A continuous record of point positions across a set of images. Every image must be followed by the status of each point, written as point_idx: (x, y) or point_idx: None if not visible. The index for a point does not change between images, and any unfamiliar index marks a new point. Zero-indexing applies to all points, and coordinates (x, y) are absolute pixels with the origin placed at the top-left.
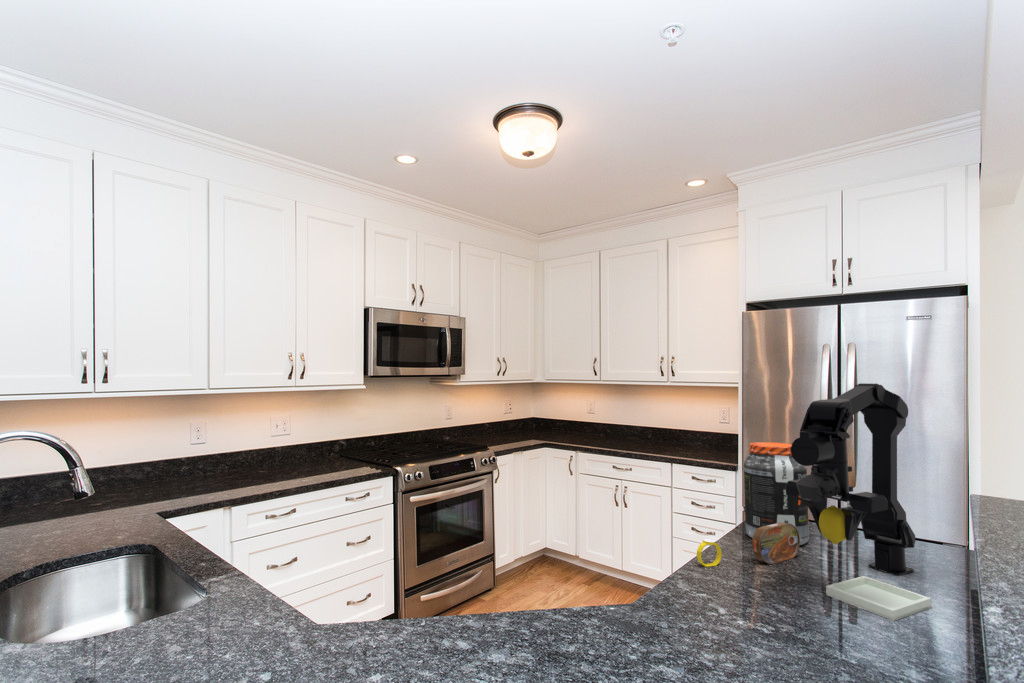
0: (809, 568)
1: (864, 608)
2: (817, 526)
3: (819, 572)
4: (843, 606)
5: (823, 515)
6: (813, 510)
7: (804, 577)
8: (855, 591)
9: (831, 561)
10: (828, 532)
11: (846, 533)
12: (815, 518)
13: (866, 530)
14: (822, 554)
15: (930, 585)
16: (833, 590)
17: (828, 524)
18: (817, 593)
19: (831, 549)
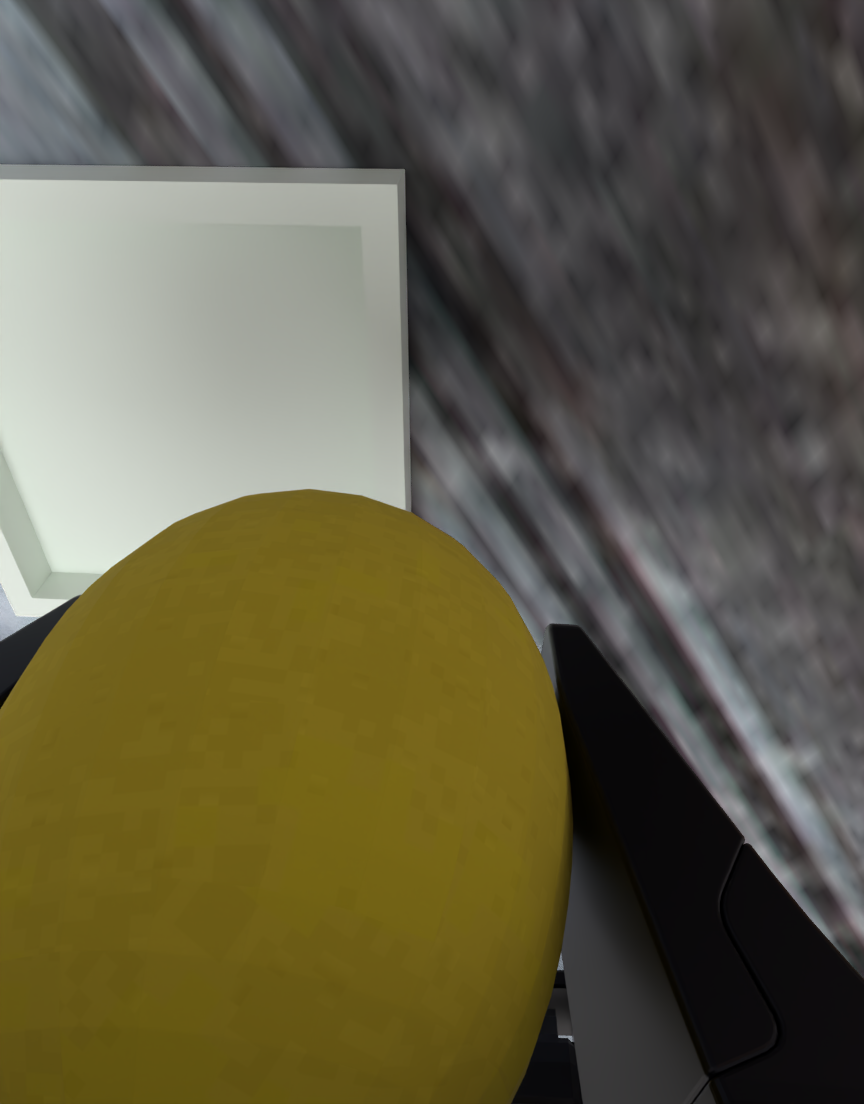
0: (772, 567)
1: (74, 167)
2: (614, 681)
3: (689, 556)
4: (174, 52)
5: (298, 863)
6: (762, 1014)
7: (720, 377)
8: (323, 414)
9: (723, 752)
10: (241, 513)
11: (27, 660)
12: (667, 803)
13: (553, 1024)
14: (808, 800)
15: None
16: (327, 182)
17: (165, 633)
18: (465, 125)
19: (800, 875)
